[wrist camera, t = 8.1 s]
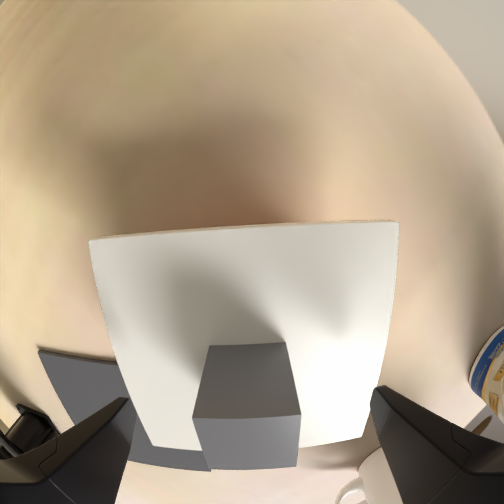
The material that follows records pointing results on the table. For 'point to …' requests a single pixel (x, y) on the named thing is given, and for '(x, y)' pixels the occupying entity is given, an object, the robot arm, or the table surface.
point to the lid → (250, 333)
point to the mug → (374, 481)
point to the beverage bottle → (490, 373)
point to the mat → (102, 393)
